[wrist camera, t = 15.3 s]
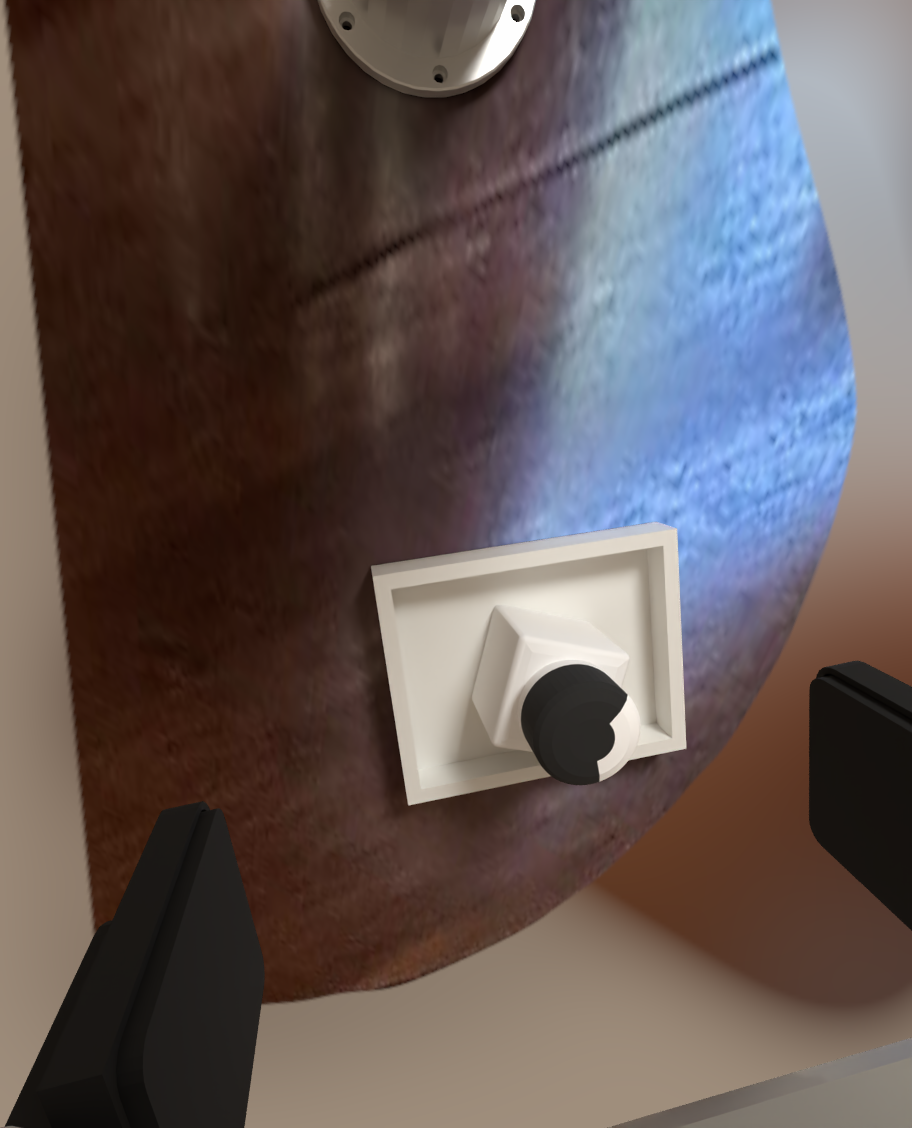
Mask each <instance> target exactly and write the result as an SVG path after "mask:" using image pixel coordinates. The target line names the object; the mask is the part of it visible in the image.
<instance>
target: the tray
mask: <svg viewBox="0 0 912 1128" xmlns="http://www.w3.org/2000/svg"><path fill="white" fill-rule="evenodd" d="M371 571H372V577H373V584H374V590H375V597H376V603H377V609H378V616H379V622H380V629H381V635H382V641H383V648H384V654H385V661H386V667H387V673H388V680H389V686H390V693H391V699H392V706H393V712H394V718H395V725H396V731H397V738H398V744H399V750H400V757H401V763H402V770H403V776H404V782H405V788H406V795H407V801H408V805H413V804H418V803H423V802H428V801H433V800H437V799H442V798H447V797H452V796H457V795H462V794H467V793H472V792H476V791H481V790H486V789H491V788H496V787H501V786H506V785H511V784H516V783H520V782H525V781H530V780H535V779H540V778H545V777H550V775H549V774H548V773H547V772H546V771H545V770H544V769H543V768H542V766H541V765H540V763H539V762H538V760H537V758H536V756H535V755H534V753H533V752H529V751H522V750H515V749H508V748H501V747H496V746H494V745H493V744H492V742H491V740H490V737H489V735H488V733H487V731H486V729H485V727H484V724H483V722H482V720H481V718H480V716H479V713H478V711H477V709H476V707H475V705H474V702H473V700H472V693H473V689H474V685H475V681H476V678H477V674H478V670H479V666H480V662H481V658H482V654H483V650H484V646H485V642H486V638H487V634H488V630H489V627H490V623H491V619H492V615H493V611H494V608H495V606H496V605H505V606H510V607H515V608H521V609H526V610H531V611H536V612H541V613H547V614H552V615H557V616H562V617H567V618H573V619H578V620H583V621H588V622H590V623H591V624H592V625H593V626H595V627H596V628H597V629H598V630H599V631H601V632H602V633H603V634H604V635H605V636H607V637H608V638H609V639H610V640H611V641H613V642H614V643H615V644H616V645H617V646H619V647H620V648H621V649H622V650H624V651H625V652H626V653H627V654H628V655H629V657H630V662H629V665H628V668H627V672H626V675H625V679H624V682H623V685H622V689H623V690H624V691H625V692H626V693H627V694H628V695H629V697H630V698H631V699H632V700H633V702H634V704H635V705H636V708H637V710H638V713H639V717H640V725H641V727H640V736H639V741H638V744H637V746H636V749H635V751H634V753H633V754H632V756H631V758H630V759H629V760H633V759H637V758H642V757H647V756H652V755H657V754H662V753H667V752H672V751H676V750H681V749H686V730H685V706H684V683H683V659H682V636H681V612H680V589H679V565H678V542H677V528H674V527H670V526H667V525H664V524H661V523H658V522H651V523H645V524H638V525H632V526H625V527H619V528H612V529H606V530H599V531H593V532H586V533H580V534H574V535H567V536H561V537H554V538H548V539H541V540H535V541H528V542H522V543H515V544H509V545H503V546H496V547H490V548H483V549H477V550H470V551H464V552H457V553H451V554H444V555H438V556H431V557H425V558H419V559H412V560H406V561H399V562H393V563H386V564H380V565H373V566H371Z"/></svg>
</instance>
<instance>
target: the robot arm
mask: <svg viewBox="0 0 912 1128" xmlns="http://www.w3.org/2000/svg"><path fill="white" fill-rule="evenodd" d="M317 1H318V4H319V7H320V10H321V12H322V14H323V16H324V18H325V21H326V23H327V25H328V27H329V29H330V31H331V33H332V34H333V36H334V37H335V39H336V40H337V41H338V43H339V44H340V45H341V47H342V48H343V50H344V51H345V52H346V54H347V55H348V56H349V57H350V58H351V59H352V60H353V61H354V62H355V63H356V64H357V65H358V66H359V67H360V68H361V69H362V70H363V71H364V72H366V73H367V74H369V75H370V76H372V77H373V78H375V79H376V80H378V81H379V82H381V83H382V84H384V85H386V86H388V87H391V88H393V89H395V90H397V91H400V92H402V93H405V94H410V95H415V96H419V97H424V98H425V97H449V96H453V95H457V94H462V93H465V92H467V91H469V90H472V89H474V88H476V87H478V86H480V85H482V84H484V83H485V82H486V81H487V80H489V79H490V78H491V77H493V76H494V75H495V74H496V73H498V72H499V71H500V70H501V69H502V67H503V66H504V65H505V64H506V63H507V61H508V60H509V59H510V58H511V57H512V56H513V54H514V52H515V51H516V49H517V47H518V45H519V43H520V42H521V40H522V38H523V36H524V34H525V32H526V30H527V27H528V25H529V23H530V20H531V18H532V14H533V10H534V6H535V2H536V0H317ZM512 18H514V19H516V20H517V22H514V21H513V19H512ZM344 26H349V27H350V28H351V30H344V29H343V27H344ZM435 78H440V79H441V80H442V83H438V82H436V81H435V80H434V79H435ZM809 704H810V705H809V706H810V707H809V708H810V709H809V718H810V720H809V721H810V722H809V727H810V728H809V736H810V737H809V821H810V826H811V830H812V832H813V834H814V836H815V838H816V839H817V841H818V842H819V843H820V844H821V846H822V847H823V848H825V849H826V850H827V851H828V852H829V853H830V854H831V855H832V856H833V857H834V858H835V859H836V860H837V861H838V862H839V863H840V864H842V866H844V867H845V868H846V869H847V870H848V871H849V872H850V873H851V874H852V875H853V876H854V877H855V878H856V879H857V880H858V881H859V882H861V883H862V884H863V885H864V886H865V887H866V888H867V889H868V890H869V891H870V892H871V893H872V894H874V896H875V897H877V898H878V899H879V900H880V901H881V902H882V903H883V904H884V905H885V906H886V907H887V908H888V909H889V910H891V912H892V913H894V914H895V915H896V916H897V917H898V918H899V919H900V920H901V921H902V922H903V923H904V924H905V925H906V926H907V927H909V928H910V929H911V930H912V687H911V686H909V685H907V684H905V683H903V682H901V681H899V680H897V679H895V678H893V677H891V676H889V675H888V674H885V673H884V672H882V671H880V670H878V669H876V668H874V667H872V666H870V665H868V664H866V663H864V662H860V661H852V662H847V663H843V664H838V665H834V666H829V667H824V668H822V669H821V670H819V672H818V674H817V677H816V679H814V680H813V681H812V682H811V684H810V703H809ZM263 989H264V962H263V956H262V952H261V948H260V945H259V941H258V937H257V934H256V930H255V926H254V923H253V919H252V915H251V912H250V908H249V904H248V901H247V897H246V894H245V890H244V886H243V883H242V879H241V875H240V872H239V868H238V864H237V861H236V857H235V854H234V850H233V846H232V843H231V839H230V835H229V832H228V828H227V824H226V821H225V817H224V814H223V812H222V810H221V809H219V808H218V809H214V810H210V809H209V807H208V805H207V804H206V803H205V802H204V801H202V802H198V803H193V804H189V805H184V806H179V807H175V808H170V809H165V810H163V811H162V812H161V813H160V815H159V817H158V819H157V822H156V824H155V826H154V828H153V831H152V833H151V835H150V837H149V840H148V842H147V844H146V846H145V849H144V851H143V853H142V855H141V858H140V860H139V862H138V864H137V867H136V869H135V871H134V873H133V876H132V878H131V880H130V882H129V885H128V887H127V889H126V891H125V893H124V896H123V898H122V900H121V902H120V905H119V907H118V909H117V911H116V914H115V916H114V918H113V920H112V921H108V922H106V923H104V924H103V925H101V926H100V927H99V929H98V930H97V932H96V933H95V935H94V937H93V939H92V941H91V943H90V946H89V948H88V950H87V952H86V954H85V956H84V958H83V960H82V962H81V965H80V967H79V969H78V971H77V973H76V975H75V977H74V979H73V982H72V984H71V986H70V988H69V990H68V992H67V994H66V997H65V999H64V1001H63V1003H62V1005H61V1007H60V1009H59V1012H58V1014H57V1016H56V1018H55V1020H54V1022H53V1024H52V1027H51V1029H50V1031H49V1033H48V1035H47V1037H46V1040H45V1042H44V1044H43V1046H42V1048H41V1050H40V1052H39V1054H38V1057H37V1059H36V1061H35V1063H34V1065H33V1068H32V1070H31V1072H30V1074H29V1076H28V1078H27V1080H26V1082H25V1084H24V1086H23V1089H22V1091H21V1093H20V1095H19V1097H18V1099H17V1102H16V1104H15V1106H14V1108H13V1110H12V1112H11V1114H10V1116H9V1119H8V1121H7V1123H6V1125H5V1127H2V1128H244V1126H245V1118H246V1111H247V1103H248V1097H249V1090H250V1083H251V1075H252V1068H253V1061H254V1054H255V1046H256V1039H257V1031H258V1025H259V1017H260V1010H261V1003H262V996H263ZM609 1128H912V1038H909V1039H906V1040H902V1041H899V1042H896V1043H892V1044H889V1045H886V1046H882V1047H879V1048H875V1049H872V1050H869V1051H865V1052H862V1053H858V1054H855V1055H851V1056H848V1057H845V1058H841V1059H838V1060H834V1061H831V1062H828V1063H824V1064H821V1065H817V1066H814V1067H811V1068H807V1069H804V1070H800V1071H797V1072H794V1073H790V1074H787V1075H783V1076H780V1077H777V1078H773V1079H770V1080H766V1081H764V1082H760V1083H756V1084H753V1085H750V1086H746V1087H743V1088H739V1089H736V1090H733V1091H729V1092H726V1093H723V1094H719V1095H716V1096H712V1097H709V1098H706V1099H703V1100H699V1101H696V1102H692V1103H689V1104H686V1105H682V1106H679V1107H675V1108H672V1109H669V1110H665V1111H662V1112H659V1113H655V1114H652V1115H648V1116H645V1117H642V1118H639V1119H635V1120H632V1121H629V1122H625V1123H622V1124H619V1125H616V1126H612V1127H609Z"/></svg>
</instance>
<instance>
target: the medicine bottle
mask: <svg viewBox="0 0 912 1128" xmlns="http://www.w3.org/2000/svg"><path fill="white" fill-rule="evenodd" d="M629 662H630V657H629V655H628V654H627V653H626V652H625V651H624V650H622V649H621V648H620V647H619V646H617V645H616V644H615V643H614V642H613V641H611V640H610V639H609V638H608V637H607V636H605V635H604V634H603V633H602V632H601V631H599V630H598V629H597V628H596V627H595V626H593V625H592V624H591V623H590V622H588V621H583V620H578V619H573V618H567V617H562V616H557V615H552V614H547V613H541V612H536V611H531V610H526V609H521V608H515V607H510V606H505V605H496V606H495V608H494V611H493V615H492V619H491V623H490V627H489V630H488V634H487V638H486V642H485V646H484V650H483V654H482V658H481V662H480V666H479V670H478V674H477V678H476V681H475V685H474V689H473V693H472V700H473V702H474V705H475V707H476V709H477V711H478V713H479V716H480V718H481V720H482V722H483V724H484V727H485V729H486V731H487V733H488V735H489V737H490V740H491V742H492V744H493V745H494V746H496V747H501V748H508V749H515V750H522V751H529V752H533V753H534V755H535V756H536V758H537V760H538V762H539V763H540V765H541V766H542V768H543V769H544V770H545V771H546V772H547V773H548V774H549V775H550V776H552V777H553V778H555V779H557V780H559V781H561V782H564V783H567V784H573V785H587V784H593V783H597V782H600V781H602V780H605V779H607V778H608V777H610V776H612V775H613V774H615V773H616V772H618V771H619V770H620V769H621V768H622V767H623V766H624V765H625V764H626V763H627V762H628V760H629V759H630V758H631V756H632V754H633V753H634V751H635V749H636V746H637V744H638V741H639V736H640V727H641V725H640V717H639V713H638V710H637V708H636V705H635V704H634V702H633V700H632V699H631V698H630V697H629V695H628V694H627V693H626V692H625V691H624V690H623V689H622V685H623V682H624V679H625V675H626V672H627V668H628V665H629Z"/></svg>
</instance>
